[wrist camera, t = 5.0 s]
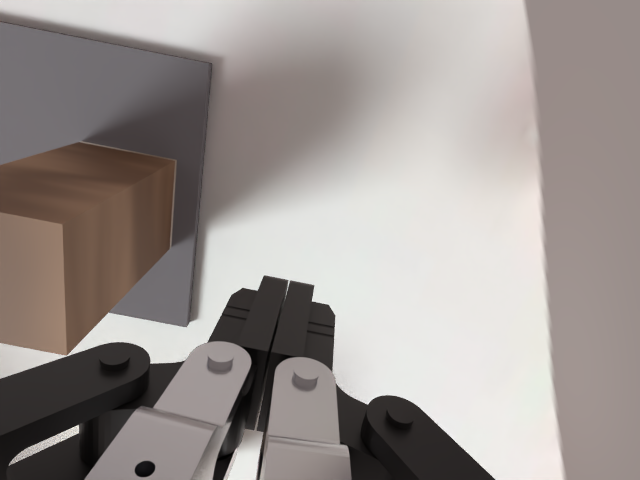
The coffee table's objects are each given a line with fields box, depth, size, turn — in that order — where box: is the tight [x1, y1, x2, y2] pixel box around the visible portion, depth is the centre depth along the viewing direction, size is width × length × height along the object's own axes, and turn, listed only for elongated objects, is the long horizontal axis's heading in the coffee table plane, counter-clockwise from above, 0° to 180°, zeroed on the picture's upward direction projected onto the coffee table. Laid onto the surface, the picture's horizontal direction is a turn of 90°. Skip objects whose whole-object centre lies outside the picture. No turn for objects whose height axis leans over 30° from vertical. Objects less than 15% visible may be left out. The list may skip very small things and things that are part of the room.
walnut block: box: [0, 141, 177, 355], centre depth 16 cm, size 4×4×8 cm
